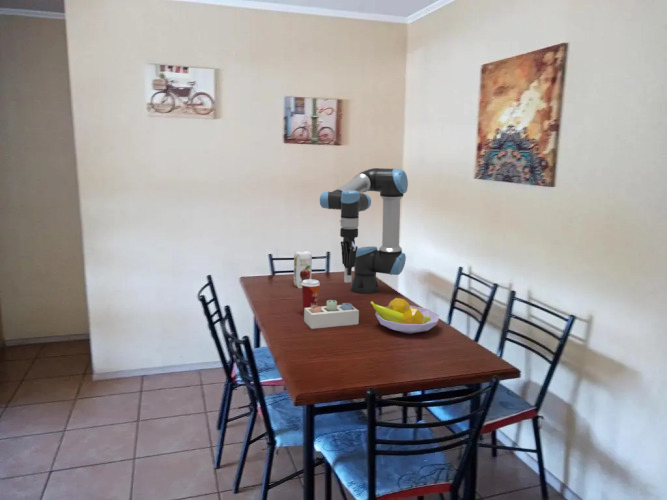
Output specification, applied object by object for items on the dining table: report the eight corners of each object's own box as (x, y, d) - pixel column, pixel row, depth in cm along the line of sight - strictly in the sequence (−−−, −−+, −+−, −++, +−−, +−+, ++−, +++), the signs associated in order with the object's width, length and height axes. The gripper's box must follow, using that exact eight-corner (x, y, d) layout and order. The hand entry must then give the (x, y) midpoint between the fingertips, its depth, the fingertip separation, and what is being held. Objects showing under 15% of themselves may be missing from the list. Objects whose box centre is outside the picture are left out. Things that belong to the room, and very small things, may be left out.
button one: (349, 315, 223) (349, 302, 222) (353, 318, 219) (353, 304, 218) (339, 316, 222) (340, 302, 221) (343, 319, 218) (344, 305, 217)
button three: (318, 318, 218) (319, 304, 217) (322, 321, 214) (322, 307, 213) (309, 319, 217) (309, 305, 216) (312, 322, 213) (312, 308, 212)
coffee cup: (316, 317, 226) (317, 284, 223) (298, 315, 227) (299, 282, 225) (321, 311, 234) (321, 279, 231) (303, 309, 235) (304, 278, 233)
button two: (334, 313, 221) (334, 299, 219) (338, 316, 217) (338, 301, 215) (324, 313, 219) (325, 299, 218) (328, 316, 215) (328, 302, 214)
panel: (349, 317, 227) (349, 304, 226) (358, 324, 218) (358, 310, 217) (304, 321, 219) (304, 307, 218) (311, 328, 210) (311, 314, 209)
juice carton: (292, 285, 278) (293, 251, 275) (307, 284, 282) (307, 250, 278) (297, 289, 271) (298, 253, 268) (312, 287, 275) (313, 253, 272)
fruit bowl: (440, 321, 225) (441, 296, 223) (435, 342, 199) (436, 314, 197) (377, 314, 232) (378, 290, 230) (364, 334, 206) (365, 306, 204)
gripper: (335, 225, 219) (334, 278, 224) (347, 230, 208) (345, 286, 212) (351, 225, 222) (349, 277, 227) (363, 229, 210) (362, 285, 215)
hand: (347, 281), depth 220 cm, fingers closed
